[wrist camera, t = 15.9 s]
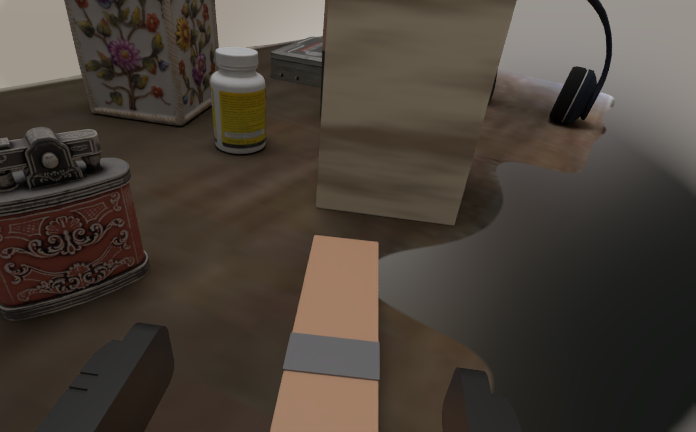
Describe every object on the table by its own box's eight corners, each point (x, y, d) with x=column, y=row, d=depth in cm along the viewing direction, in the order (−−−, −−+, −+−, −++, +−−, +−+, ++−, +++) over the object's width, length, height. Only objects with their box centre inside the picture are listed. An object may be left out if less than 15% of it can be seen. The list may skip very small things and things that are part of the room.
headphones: (449, 101, 67) (479, -31, 57) (461, 92, 73) (490, -30, 63) (583, 133, 60) (644, -11, 50) (586, 121, 65) (641, -12, 55)
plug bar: (366, 533, 16) (379, 481, 14) (262, 521, 16) (260, 467, 14) (371, 289, 28) (379, 240, 26) (310, 283, 28) (313, 233, 26)
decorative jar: (224, 99, 58) (214, -55, 48) (184, 128, 48) (162, -58, 39) (142, 88, 59) (116, -66, 49) (86, 114, 49) (40, -72, 39)
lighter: (140, 250, 29) (110, 111, 24) (157, 276, 27) (128, 131, 22) (-3, 295, 25) (-80, 136, 19) (4, 331, 23) (-80, 164, 17)
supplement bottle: (276, 147, 46) (276, 54, 41) (234, 160, 43) (228, 59, 37) (246, 131, 49) (243, 43, 44) (204, 142, 45) (195, 47, 40)
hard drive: (430, 111, 63) (436, 81, 61) (268, 80, 69) (268, 52, 67) (445, 83, 78) (450, 58, 76) (311, 59, 84) (312, 36, 82)
